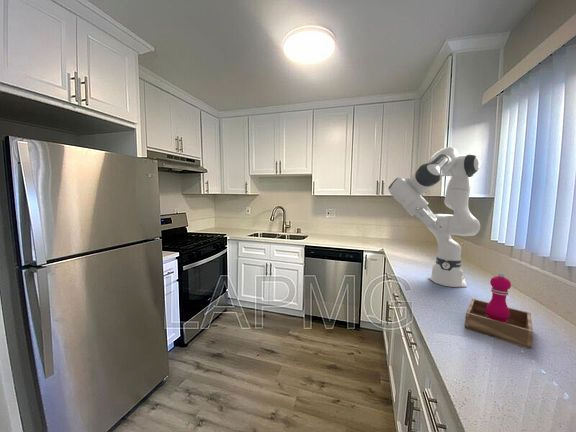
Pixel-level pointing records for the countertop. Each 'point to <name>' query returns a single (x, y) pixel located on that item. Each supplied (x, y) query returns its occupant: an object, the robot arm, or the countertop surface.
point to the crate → (500, 324)
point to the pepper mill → (498, 299)
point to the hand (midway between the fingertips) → (441, 231)
